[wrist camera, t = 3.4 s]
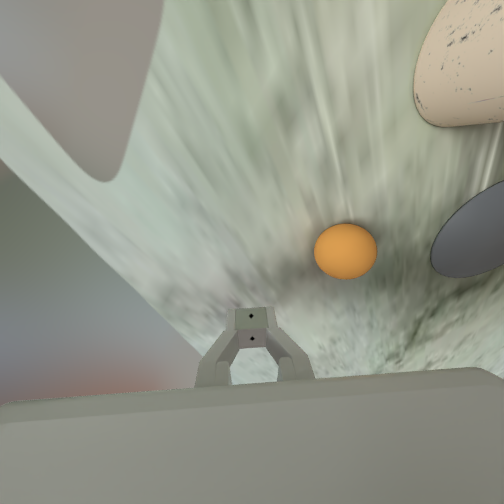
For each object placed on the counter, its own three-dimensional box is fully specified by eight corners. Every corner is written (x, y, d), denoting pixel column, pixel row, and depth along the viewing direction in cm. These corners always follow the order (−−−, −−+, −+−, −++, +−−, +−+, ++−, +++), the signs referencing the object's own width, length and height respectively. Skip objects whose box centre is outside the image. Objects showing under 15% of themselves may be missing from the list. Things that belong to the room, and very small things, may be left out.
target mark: (472, 174, 17) (474, 174, 17) (596, 171, 18) (600, 171, 17) (412, 278, 24) (413, 279, 24) (503, 274, 24) (505, 275, 24)
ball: (311, 216, 18) (335, 240, 14) (362, 214, 19) (403, 237, 14) (304, 260, 21) (321, 292, 17) (348, 258, 22) (378, 290, 17)
